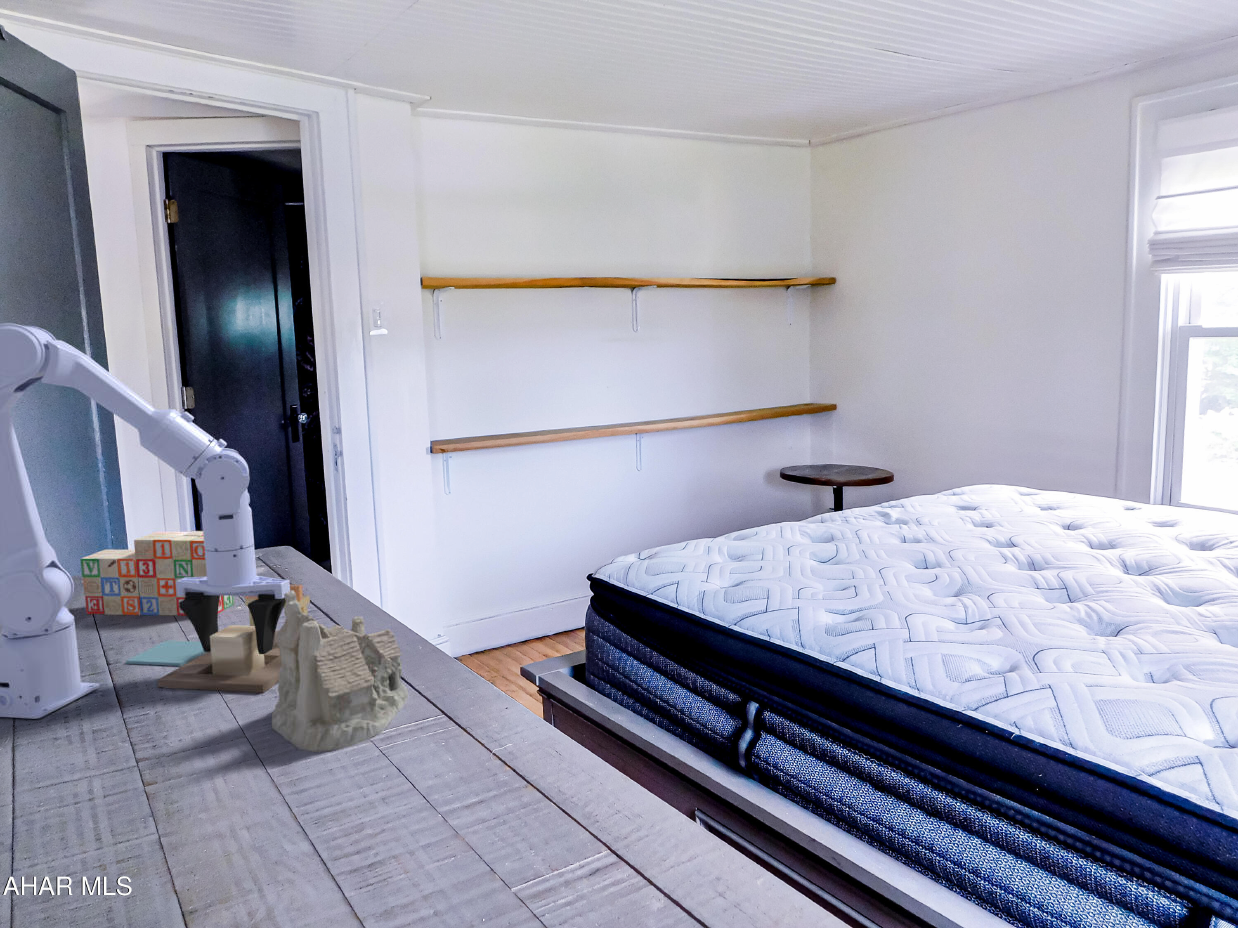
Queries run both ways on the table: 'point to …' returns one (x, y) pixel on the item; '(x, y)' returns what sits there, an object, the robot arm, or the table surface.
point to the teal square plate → (169, 653)
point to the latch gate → (299, 596)
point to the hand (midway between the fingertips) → (238, 650)
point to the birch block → (235, 651)
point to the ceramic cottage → (334, 682)
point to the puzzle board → (199, 677)
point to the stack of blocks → (145, 575)
